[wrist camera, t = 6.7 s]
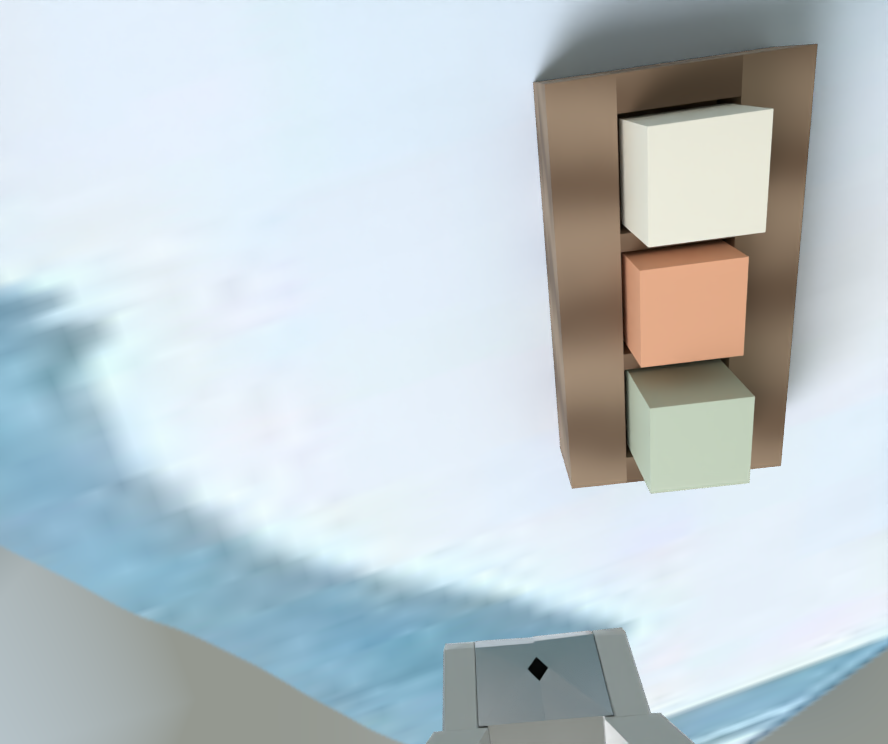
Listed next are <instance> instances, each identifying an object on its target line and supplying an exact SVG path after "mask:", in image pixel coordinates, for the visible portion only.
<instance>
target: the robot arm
mask: <svg viewBox="0 0 888 744" xmlns="http://www.w3.org/2000/svg"><path fill="white" fill-rule="evenodd" d="M426 744H695V743H694V742H693V741H691V740H690V739H689V738H688V737H687V736H686V735H685V734H684V733H682V732H681V731H680V730H679V729H678V728H677V727H676V726H675V725H674V724H672V723H671V722H670V721H669V720H668V719H667V718H666V717H665V716H663V715H662V714H661V713H651V712H650V709H649V705H648V702H647V699H646V696H645V693H644V690H643V686H642V683H641V680H640V677H639V674H638V671H637V667H636V664H635V661H634V658H633V655H632V651H631V648H630V645H629V642H628V639H627V636H626V632H625V631H624V630H623V629H622V628H613V629H603V630H593V631H592V632H591V631H581V632H572V633H562V634H553V635H543V636H534V637H530V638H516V639H501V640H486V641H475V642H464V643H450V644H445V648H444V655H443V731H439V732H433V734H432V735H431V737H430V738H429V740H428V741H427V743H426Z"/></svg>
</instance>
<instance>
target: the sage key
mask: <svg viewBox="0 0 888 744" xmlns="http://www.w3.org/2000/svg"><path fill="white" fill-rule="evenodd" d="M625 381H626V419H627V445H628V447H629V449H630V451H631V453H632V455H633V457H634V459H635V462H636V464H637V466H638V468H639V470H640V472H641V474H642V476H643V478H644V480H645V483H646V485H647V487H648V489H649V491H650V493H651V494H652V493H661V492H671V491H680V490H689V489H698V488H708V487H717V486H726V485H736V484H745V483H749V481H750V466H751V450H752V435H753V419H754V404H755V396H754V395H753V394H752V393H751V392H750V391H749V390H748V389H747V387H746V386H745V385H744V384H743V383H742V382H741V381H740V380H739V379H738V378H737V377H736V376H735V375H734V374H733V372H732V371H731V370H730V369H729V368H728V367H727V366H726V365H725V364H724V363H723V362H722V361H721V360H720V359H710V360H702V361H694V362H685V363H677V364H669V365H660V366H652V367H644V368H635V369H627V370H625Z"/></svg>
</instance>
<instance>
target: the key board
mask: <svg viewBox="0 0 888 744" xmlns="http://www.w3.org/2000/svg"><path fill="white" fill-rule="evenodd" d="M816 56H817V44H808V45H794V46H780V47H769V48H762V49H756V50H749V51H742V52H735V53H729V54H722V55H715V56H708V57H702V58H695V59H688V60H681V61H675V62H668V63H661V64H654V65H648V66H641V67H634V68H627V69H621V70H614V71H607V72H600V73H594V74H587V75H580V76H573V77H567V78H560V79H553V80H546V81H540V82H533V88H534V101H535V115H536V128H537V142H538V155H539V169H540V182H541V195H542V209H543V222H544V236H545V249H546V263H547V276H548V290H549V303H550V316H551V330H552V343H553V357H554V370H555V384H556V397H557V410H558V424H559V437H560V449H561V453H562V456H563V459H564V463H565V466H566V470H567V473H568V477H569V480H570V483H571V487H572V489H573V488H582V487H591V486H600V485H609V484H619V483H628V482H637V481H645V480H644V478H643V476H642V474H641V472H640V470H639V468H638V466H637V464H636V462H635V459H634V457H633V455H632V453H631V451H630V449H629V447H628V445H627V419H626V381H625V370H627V369H635V368H641V367H640V365H639V364H638V362H637V360H636V359H635V357H634V356H633V354H632V353H631V351H630V350H629V348H628V346H627V345H626V343H625V342H624V340H623V318H622V281H621V252H626V251H634V250H642V249H649V248H657V247H665V246H672V245H680V244H688V243H695V242H703V241H710V240H718V239H721V240H723V241H725V242H726V243H728V244H729V245H731V246H733V247H734V248H736V249H737V250H739V251H741V252H742V253H744V254H745V255H747V256H749V264H748V283H747V301H746V319H745V337H744V355H743V356H734V357H726V358H718V359H720V360H721V361H722V362H723V363H724V364H725V365H726V366H727V367H728V368H729V369H730V370H731V371H732V372H733V374H734V375H735V376H736V377H737V378H738V379H739V380H740V381H741V382H742V383H743V384H744V385H745V386H746V387H747V389H748V390H749V391H750V392H751V393H752V394H753V395H754V396H755V404H754V419H753V435H752V450H751V466H750V469H756V468H766V467H775V466H781V458H782V447H783V435H784V424H785V412H786V401H787V389H788V378H789V366H790V355H791V343H792V332H793V320H794V309H795V297H796V286H797V274H798V263H799V251H800V240H801V228H802V217H803V205H804V194H805V182H806V171H807V159H808V148H809V136H810V125H811V113H812V102H813V90H814V79H815V67H816ZM723 103H730V104H738V105H746V106H755V107H763V108H771V109H773V125H772V140H771V156H770V171H769V187H768V202H767V218H766V232H763V233H755V234H748V235H740V236H732V237H725V238H717V239H709V240H702V241H694V242H687V243H679V244H671V245H664V246H656V247H647V246H646V245H645V244H644V243H643V242H642V241H641V240H640V239H638V238H637V237H636V236H635V235H634V234H633V233H632V232H631V231H630V230H628V229H627V228H626V227H625V226H624V225H623V224H622V223H621V187H620V148H619V118H625V117H632V116H639V115H646V114H653V113H660V112H667V111H674V110H681V109H688V108H695V107H702V106H709V105H716V104H723ZM709 360H710V359H709ZM701 361H702V360H701ZM693 362H694V361H693ZM684 363H685V362H684ZM676 364H677V363H676ZM667 365H669V364H667ZM659 366H660V365H659ZM651 367H652V366H651ZM642 368H644V367H642Z"/></svg>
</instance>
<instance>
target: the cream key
mask: <svg viewBox="0 0 888 744" xmlns="http://www.w3.org/2000/svg"><path fill="white" fill-rule="evenodd" d="M772 125H773V109H771V108H763V107H755V106H746V105H738V104H730V103H723V104H716V105H709V106H702V107H695V108H688V109H681V110H674V111H667V112H660V113H653V114H646V115H639V116H632V117H625V118H619V148H620V187H621V223H622V224H623V225H624V226H625V227H626V228H627V229H628V230H630V231H631V232H632V233H633V234H634V235H635V236H636V237H637V238H638V239H640V240H641V241H642V242H643V243H644V244H645V245H646V246H647V247H656V246H664V245H671V244H679V243H687V242H694V241H702V240H709V239H717V238H725V237H732V236H740V235H748V234H755V233H763V232H766V218H767V202H768V187H769V171H770V156H771V140H772Z"/></svg>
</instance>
